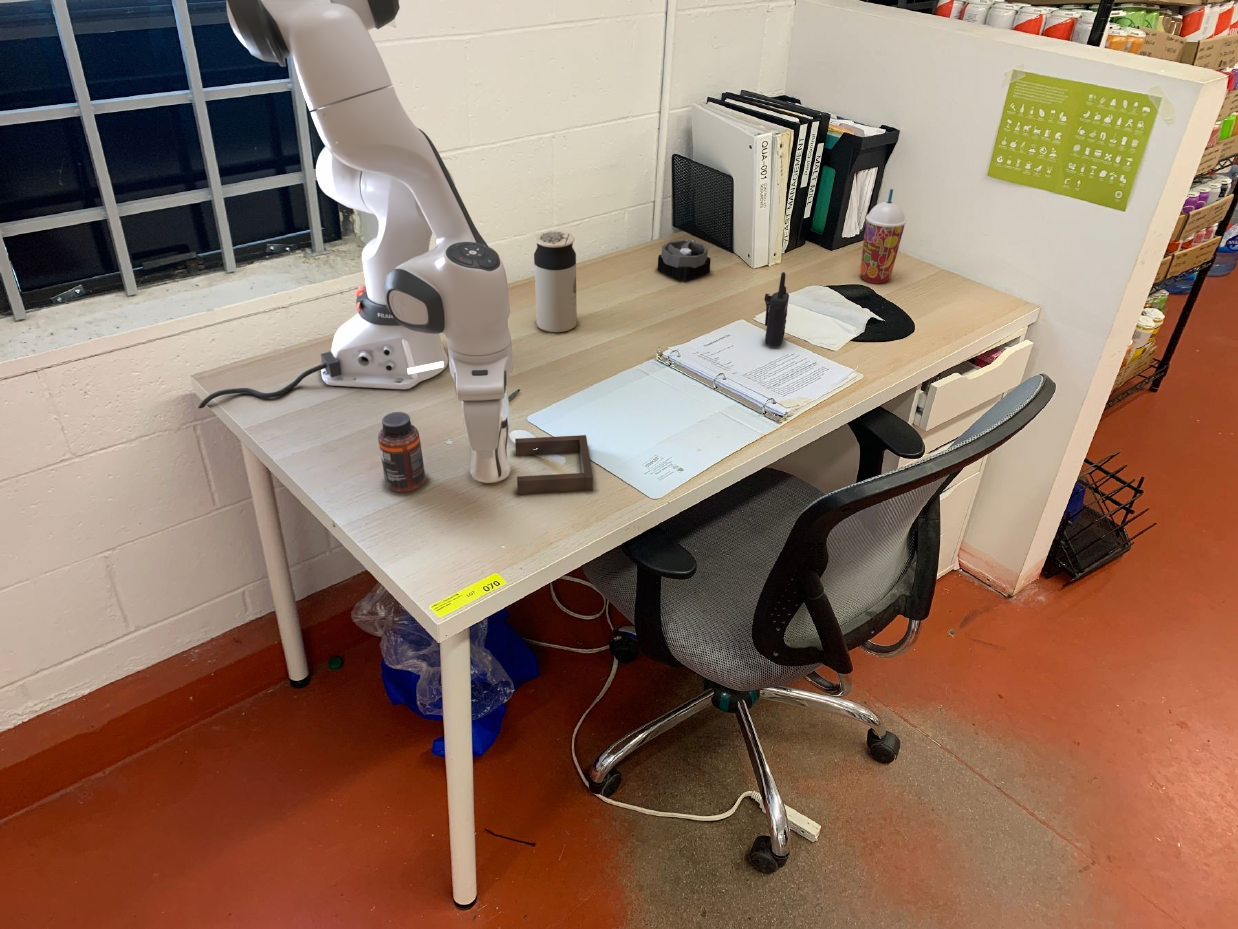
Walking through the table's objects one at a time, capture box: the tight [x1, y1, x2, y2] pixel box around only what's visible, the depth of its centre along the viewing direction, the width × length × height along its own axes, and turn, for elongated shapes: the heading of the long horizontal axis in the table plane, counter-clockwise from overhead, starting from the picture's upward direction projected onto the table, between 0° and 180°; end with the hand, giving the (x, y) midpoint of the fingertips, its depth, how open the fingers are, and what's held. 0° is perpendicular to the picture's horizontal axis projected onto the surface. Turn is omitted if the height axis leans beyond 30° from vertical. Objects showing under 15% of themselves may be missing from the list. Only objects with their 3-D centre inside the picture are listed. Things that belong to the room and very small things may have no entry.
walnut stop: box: [514, 434, 594, 495], centre depth 140 cm, size 11×11×2 cm
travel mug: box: [533, 230, 578, 333], centre depth 176 cm, size 8×8×18 cm
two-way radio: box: [764, 271, 790, 348], centre depth 172 cm, size 6×4×15 cm
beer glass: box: [460, 384, 511, 484], centre depth 135 cm, size 7×7×15 cm
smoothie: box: [859, 188, 907, 284], centre depth 197 cm, size 8×8×20 cm
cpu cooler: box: [657, 238, 712, 282], centre depth 202 cm, size 10×6×10 cm
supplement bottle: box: [377, 411, 426, 493], centre depth 134 cm, size 6×6×11 cm
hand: (487, 441), depth 136 cm, fingers closed on beer glass, 6 cm apart
